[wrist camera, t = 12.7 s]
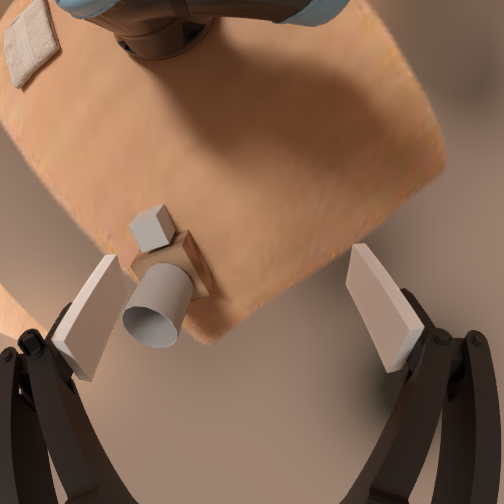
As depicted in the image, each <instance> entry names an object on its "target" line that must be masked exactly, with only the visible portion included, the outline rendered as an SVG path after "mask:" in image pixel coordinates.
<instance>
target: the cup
mask: <svg viewBox="0 0 504 504" xmlns="http://www.w3.org/2000/svg"><path fill="white" fill-rule="evenodd" d="M192 290H193V284H192V282H191V280H190V278H189V276H188V275H187V274H186V273H185V272H184V271H183V270H182V269H181V268H179V267H177V266H174V265H172V264H169V263H157V264H155V265H153V266H151V267H149V268H148V270H147V272H146V273H145V275H144V277H143V278H142V280H141V282H140V283H139V285H138V287H137V289H136V290H135V292H134V294H133V295H132V297H131V299H130V301H129V303H128V304H127V306H126V308H125V310H124V312H123V314H122V316H121V319H122V324H123V327H124V328H125V329H126V331H127V332H128V334H129V335H131V336H132V337H133V338H134V339H136V340H137V341H139V342H140V343H143V344H145V345H148V346H150V347H156V348H165V347H169V346H172V345H173V344H174V342H175V341H176V340H177V338H178V335H179V332H180V329H181V326H182V323H183V320H184V317H185V314H186V311H187V308H188V305H189V302H190V299H191V296H192Z"/></svg>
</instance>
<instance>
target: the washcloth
mask: <svg viewBox="0 0 504 504" xmlns="http://www.w3.org/2000/svg"><path fill="white" fill-rule="evenodd" d="M59 49H60V45H59V42H58V39H57V36H56V33H55V30H54V25H53V21H52V19H51V17H50V12H49V10H48V4H47V0H34V1H33V2H32V3H31V4H30V5H29V6H28V7H27V8H26V9H25V10H24V11H23V12H22V13H21V14H20V15H19V16H18V17H16V18H15V19H14V21H13V22H12V23H11V24H10V25H9V26H8V27H7V29H6V31H5V32H4V49H3V51H4V53H5V56H6V61H7V66H8V69H9V72H10V75H11V79H12V83H13V84H14V86H15V87H16V88H17V89H20V88H21V87H22V86H23V85H24V84H25V83H26V82H27V81H28V80H29V79H30V78H31V76H32V75H33V73H34V72H35V71H36V70H37V69H38V68H39V67H40V66H42V65H44V64H45V63H46V61H48V60H49V59H50V58H51V57H52V56H53V55H54V54H55V53H56V52H57V51H58V50H59Z"/></svg>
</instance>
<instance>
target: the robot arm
mask: <svg viewBox="0 0 504 504" xmlns="http://www.w3.org/2000/svg"><path fill="white" fill-rule="evenodd" d="M349 1H350V0H55V2H56V3H57V5H58V6H59V7H60V8H61V9H63V10H64V11H66V12H68V13H70V14H71V15H72V16H73V17H74V18H77V19H83V20H86V21H89V22H91V23H94V24H96V25H98V26H101V27H103V28H105V29H107V30H109V31H112V32H113V33H114V36H115V38H116V40H117V42H118V44H119V45H120V46H121V47H122V48H123V49H124V50H125V51H126V52H128V53H130V54H132V55H134V56H136V57H139V58H142V59H147V60H162V59H168V58H172V57H175V56H177V55H180V54H182V53H184V52H186V51H188V50H189V49H191V48H192V47H194V46H195V45H196V44H198V43H199V42H200V41H201V40H202V39H203V38H204V37H205V35H206V34H207V33H208V31H209V30H210V28H211V26H212V24H213V21H214V17H235V18H248V19H259V20H267V21H272V23H275V24H286V23H288V24H295V25H301V26H307V27H315V26H319V25H323V24H326V23H328V22H329V21H331V20H332V19H334V18H335V17H336V16H337V15H338V14H339V13H340V12H341V11H342V10H343V9H344V8H345V6H346V5H347V4H348V2H349ZM346 286H347V288H348V290H349V292H350V294H351V296H352V298H353V300H354V302H355V304H356V306H357V308H358V310H359V312H360V315H361V316H362V318H363V321H364V323H365V325H366V327H367V329H368V331H369V333H370V336H371V338H372V340H373V342H374V344H375V346H376V349H377V351H378V353H379V356H380V358H381V360H382V362H383V365H384V367H385V369H386V371H387V373H389V372H393V371H397V370H401V369H402V367H403V366H404V364H405V362H407V364H408V366H409V369H408V370H407V372H406V373H405V375H404V377H403V378H402V380H401V382H403V384H402V386H401V389H400V391H399V394H398V397H397V399H396V402H395V404H394V407H393V409H392V411H391V414H390V416H389V418H388V421H387V423H386V425H385V427H384V429H383V431H382V433H381V436H380V438H379V440H378V442H377V444H376V446H375V447H374V450H373V451H372V453H371V455H370V457H369V459H368V461H367V462H366V464H365V466H364V468H363V469H362V471H361V473H360V474H359V476H358V478H357V479H356V481H355V483H354V484H353V486H352V487H351V489H350V490H349V492H348V494H347V495H346V496H345V498H344V499H343V500H342V501H341V502H340V503H339V504H409V502H408V498H409V496H410V494H411V491H412V489H413V487H414V485H415V483H416V481H417V478H418V476H419V474H420V471H421V469H422V467H423V464H424V462H425V459H426V456H427V454H428V451H429V448H430V445H431V442H432V439H433V436H434V433H435V430H436V426H437V423H438V420H439V416H440V412H441V409H442V431H441V443H440V453H439V462H438V469H437V475H436V481H435V487H434V492H433V497H432V501H431V504H497V498H498V491H499V481H500V470H501V423H500V410H499V401H498V392H497V385H496V379H495V374H494V368H493V363H492V358H491V353H490V349H489V346H488V341H487V339H486V337H485V336H484V335H483V334H482V333H481V332H479V331H476V330H471V331H469V332H468V333H467V335H466V337H465V338H452V336H451V335H450V334H449V333H448V332H447V331H445V330H444V329H440V328H436V327H435V326H434V324H433V323H432V321H431V319H430V318H429V317H428V315H427V314H426V312H425V311H424V309H422V306H421V305H420V304H419V303H418V301H417V300H416V298H415V297H414V295H413V294H412V293H410V292H409V291H408V290H407V289H405V288H404V289H399V288H398V287H397V285H396V284H395V283H394V281H393V280H392V278H391V277H390V275H389V274H388V273H387V271H386V270H385V269H384V267H383V266H382V265H381V263H380V262H379V261H378V259H377V258H376V257H375V255H374V254H373V253H372V252H371V250H370V249H369V248H368V246H367V245H366V244H365V243H362V244H361V243H360V244H353V246H352V252H351V258H350V264H349V269H348V274H347V279H346ZM128 294H129V292H128V289H127V286H126V283H125V280H124V277H123V274H122V271H121V267H120V264H119V261H118V258H117V254H116V255H105V256H104V258H103V259H102V260H101V262H100V263H99V265H98V266H97V268H96V269H95V270H94V272H93V273H92V274H91V276H90V277H89V279H88V280H87V282H86V283H85V285H84V286H83V288H82V289H81V291H80V292H79V294H78V295H77V297H76V298H75V300H74V301H73V302H70V303H69V304H68V305H67V306H66V307H65V308H64V309H63V310H62V312H61V313H60V315H59V317H58V318H57V320H56V321H55V322H56V323H54V325H53V326H52V328H51V330H50V331H49V333H48V335H47V336H46V338H45V340H44V339H43V337H42V336H41V334H40V333H39V331H38V330H37V329H29V330H27V331H25V332H24V333H23V334H22V335H21V336H20V337H19V339H18V346H19V347H20V349H21V350H22V351H23V354H19V353H18V352H17V351H16V349H15V348H13V347H8V348H6V349H4V350H3V351H2V352H1V354H0V504H58V500H57V496H56V493H55V488H54V484H53V479H52V474H51V469H50V463H49V456H48V451H49V454H50V456H51V459H52V462H53V464H54V467H55V469H56V472H57V474H58V476H59V479H60V481H61V483H62V485H63V487H64V490H65V492H66V494H67V497H68V500H67V501H66V502H65V504H139V503H138V502H136V500H135V499H134V498H133V497H132V495H131V494H130V492H129V491H128V490H127V488H126V486H125V485H124V483H123V482H122V481H121V479H120V477H119V476H118V474H117V472H116V471H115V469H114V467H113V466H112V464H111V462H110V460H109V458H108V457H107V455H106V453H105V451H104V449H103V447H102V445H101V444H100V441H99V439H98V437H97V435H96V434H95V431H94V429H93V427H92V425H91V423H90V420H89V418H88V416H87V414H86V411H85V409H84V407H83V404H82V401H81V399H80V396H79V394H78V391H77V389H76V386H75V383H74V381H73V379H72V378H71V376H72V374H73V372H74V373H75V375H76V376H77V377H78V378H79V379H80V380H85V381H90V382H92V379H93V377H94V374H95V371H96V369H97V366H98V364H99V361H100V358H101V356H102V353H103V351H104V348H105V346H106V344H107V341H108V339H109V336H110V334H111V332H112V329H113V327H114V325H115V323H116V320H117V318H118V316H119V313H120V311H121V309H122V307H123V305H124V303H125V301H126V299H127V296H128ZM19 388H20V389H21V394H19ZM47 448H48V449H47Z"/></svg>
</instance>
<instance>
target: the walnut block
mask: <svg viewBox="0 0 504 504" xmlns="http://www.w3.org/2000/svg"><path fill="white" fill-rule="evenodd" d="M157 263H169V264H172V265H174V266H177V267H179V268H181V269H182V270H183V271H184V272H185V273H186V274H187V275H188V276H189V278H190V280H191V282H192V284H193V290H192V296H191V299H190V301H193V300H196V299H200V298H203V297H206V296H210V292H211V284H212V277H213V275H212V273H211V272H210V270H209V268H208V266H207V264H206V262H205V260H204V259H203V257H202V255H201V253H200V251H199V249H198V247H197V245H196V243H195V241H194V240H193V238H192V236H191V234H190V232H189V230H186V231H183V232H181V233H178V234H176V235H173V237H172V239H171V241H170V243H169V244H167V245H164V246H161V247H158V248H155V249H152V250H149V251H146V252H143V253H142V251H141V249H140V251H139V252H138V254H137V256H136V257H135V259H134V261H133V262H132V264H131V268H132V270H133V271H134V273H135V274H136V276H137V277H138V279H139V280H140V282H141V280H142V278H143V277H144V275H145V273H146V272H147V270H148V268H149V267H151V266H153V265H155V264H157Z"/></svg>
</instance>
